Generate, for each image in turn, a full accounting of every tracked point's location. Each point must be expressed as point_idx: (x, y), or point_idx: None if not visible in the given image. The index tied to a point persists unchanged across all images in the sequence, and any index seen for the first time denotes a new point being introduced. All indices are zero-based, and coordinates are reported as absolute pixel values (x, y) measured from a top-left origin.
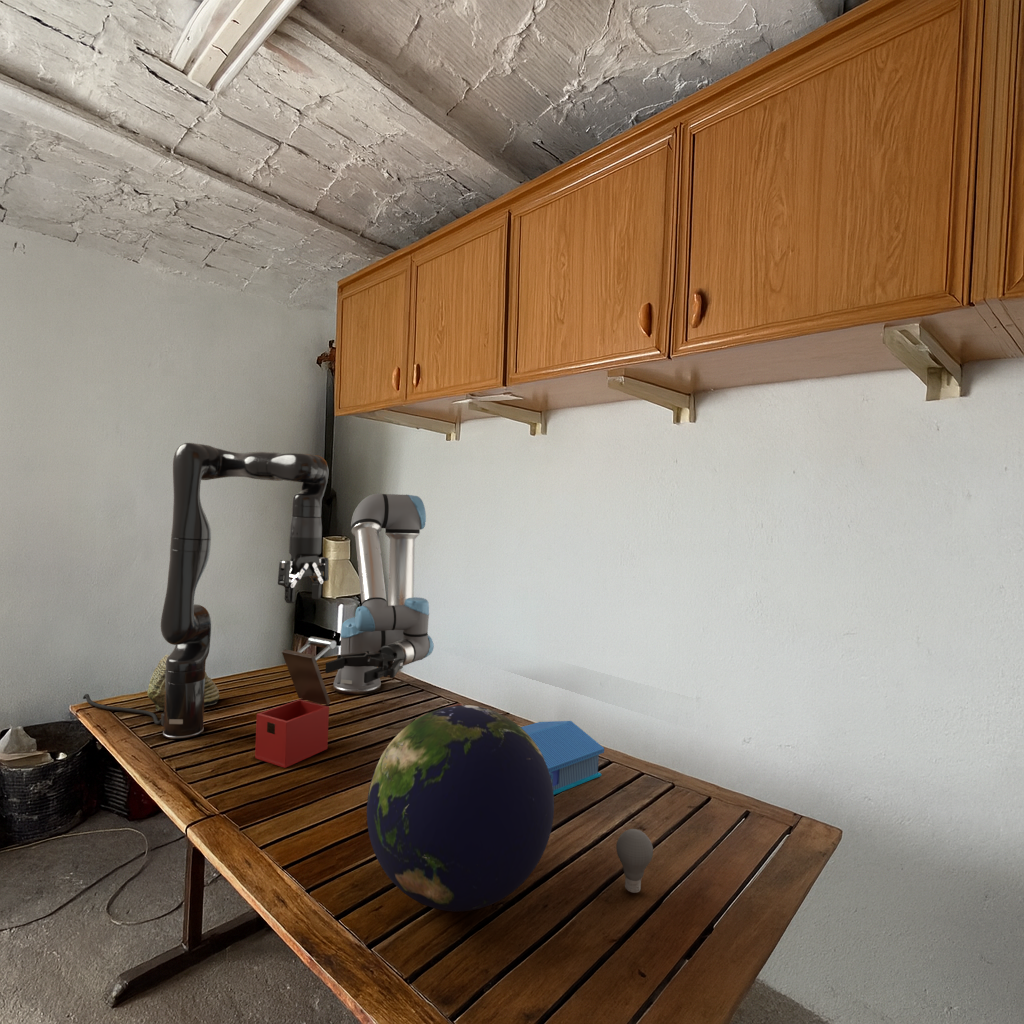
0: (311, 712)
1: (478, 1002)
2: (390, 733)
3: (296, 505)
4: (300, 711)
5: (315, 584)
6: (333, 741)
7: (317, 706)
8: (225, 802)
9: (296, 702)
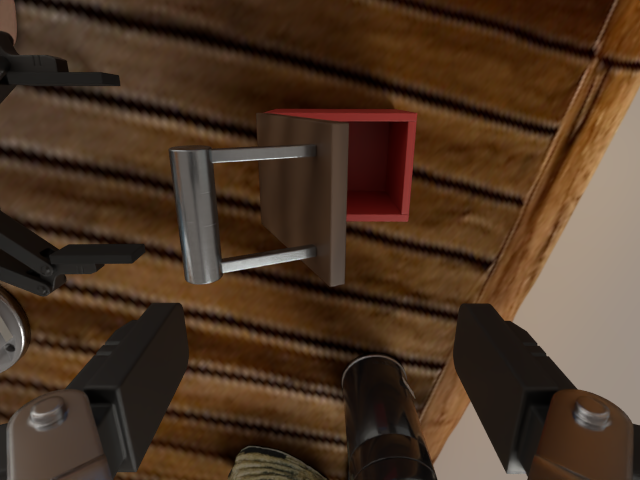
0: (326, 116)
1: None
2: (115, 48)
3: None
4: None
5: (128, 433)
6: (237, 129)
7: None
8: (557, 84)
9: None
